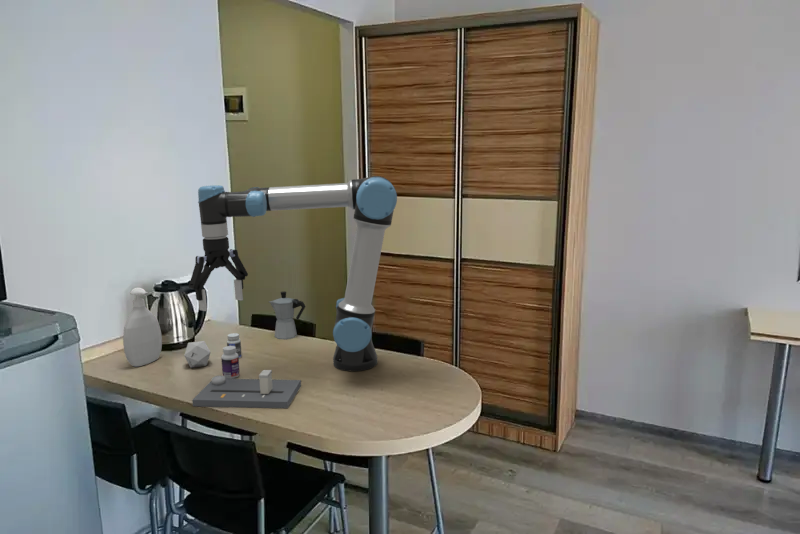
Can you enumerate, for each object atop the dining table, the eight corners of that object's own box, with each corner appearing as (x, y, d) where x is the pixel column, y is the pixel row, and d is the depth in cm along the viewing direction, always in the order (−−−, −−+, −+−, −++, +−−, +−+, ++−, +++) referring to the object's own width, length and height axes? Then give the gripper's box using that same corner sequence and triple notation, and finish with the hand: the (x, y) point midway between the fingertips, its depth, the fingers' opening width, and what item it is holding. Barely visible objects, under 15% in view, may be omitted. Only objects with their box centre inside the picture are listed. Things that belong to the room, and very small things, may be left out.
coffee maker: (266, 339, 231) (263, 294, 227) (274, 332, 239) (272, 288, 236) (303, 340, 228) (300, 295, 225) (310, 333, 237) (308, 289, 233)
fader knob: (272, 388, 178) (271, 370, 177) (268, 394, 174) (267, 375, 173) (264, 388, 179) (263, 369, 177) (260, 393, 175) (258, 375, 173)
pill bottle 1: (229, 360, 208) (227, 337, 207) (226, 356, 212) (224, 334, 211) (243, 358, 210) (241, 335, 209) (240, 354, 215) (238, 331, 213)
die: (179, 367, 205) (177, 351, 197) (194, 348, 211) (192, 331, 204) (202, 376, 204) (200, 360, 197) (215, 357, 210) (215, 340, 203)
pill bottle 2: (235, 379, 191) (233, 351, 189) (219, 378, 192) (217, 350, 190) (242, 373, 197) (240, 345, 195) (227, 372, 198) (225, 344, 196)
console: (301, 386, 186) (300, 375, 185) (287, 408, 170) (286, 396, 169) (214, 384, 188) (213, 373, 187) (192, 406, 172) (191, 394, 172)
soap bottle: (136, 372, 199) (127, 294, 193) (120, 368, 203) (111, 291, 197) (171, 358, 211) (164, 284, 206) (156, 354, 215) (148, 282, 210)
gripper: (239, 230, 192) (245, 294, 196) (171, 242, 172) (179, 313, 176) (255, 232, 187) (260, 297, 192) (187, 244, 167) (194, 316, 172)
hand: (221, 305), depth 184 cm, fingers open, 13 cm apart
